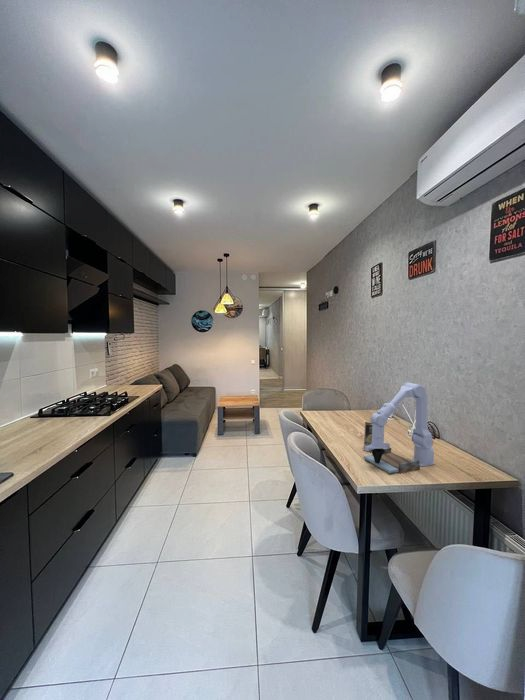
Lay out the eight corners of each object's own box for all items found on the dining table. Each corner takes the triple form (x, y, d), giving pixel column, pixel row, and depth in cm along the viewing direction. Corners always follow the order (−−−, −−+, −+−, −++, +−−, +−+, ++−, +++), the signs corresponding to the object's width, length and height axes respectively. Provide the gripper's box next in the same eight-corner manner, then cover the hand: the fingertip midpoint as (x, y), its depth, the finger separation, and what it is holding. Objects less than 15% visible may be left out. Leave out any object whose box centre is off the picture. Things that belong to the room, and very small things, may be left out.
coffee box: (364, 451, 175) (365, 424, 175) (363, 447, 181) (364, 421, 181) (381, 453, 173) (381, 426, 172) (379, 449, 179) (380, 423, 178)
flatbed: (390, 455, 170) (390, 447, 170) (419, 469, 152) (420, 460, 152) (372, 458, 166) (372, 450, 166) (400, 473, 147) (400, 464, 147)
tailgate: (372, 454, 165) (363, 455, 163) (399, 468, 147) (389, 470, 145) (372, 457, 165) (363, 458, 163) (399, 471, 147) (389, 473, 145)
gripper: (383, 432, 160) (382, 457, 161) (361, 435, 155) (360, 461, 156) (393, 437, 154) (392, 462, 154) (370, 440, 148) (370, 466, 149)
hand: (377, 462), depth 154 cm, fingers closed
